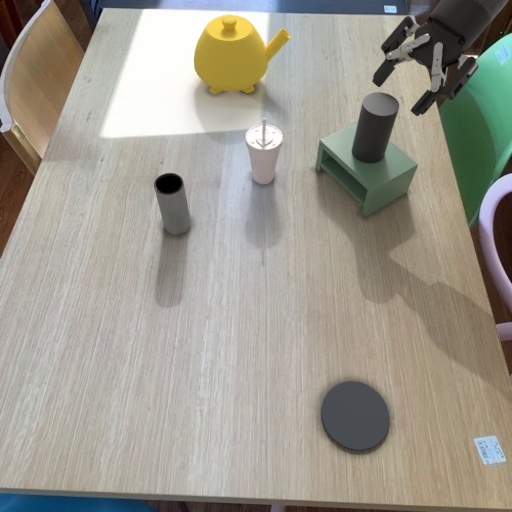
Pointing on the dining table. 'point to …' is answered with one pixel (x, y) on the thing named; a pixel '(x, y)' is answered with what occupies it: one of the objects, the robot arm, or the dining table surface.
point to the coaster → (355, 415)
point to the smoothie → (263, 150)
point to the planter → (172, 203)
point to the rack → (365, 170)
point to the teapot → (234, 54)
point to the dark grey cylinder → (374, 127)
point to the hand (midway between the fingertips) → (394, 98)
